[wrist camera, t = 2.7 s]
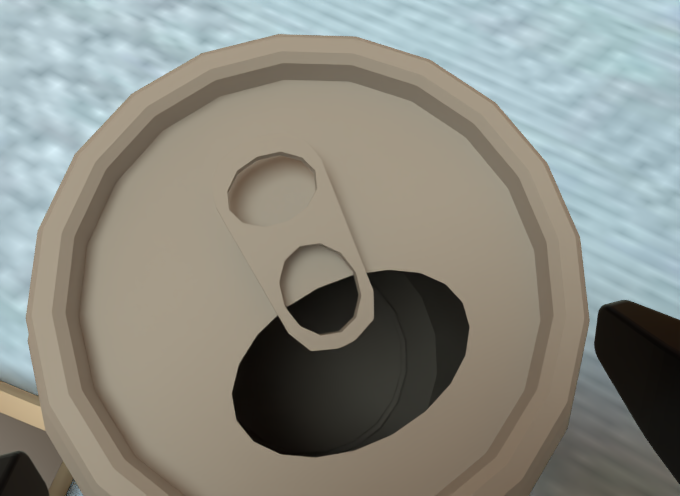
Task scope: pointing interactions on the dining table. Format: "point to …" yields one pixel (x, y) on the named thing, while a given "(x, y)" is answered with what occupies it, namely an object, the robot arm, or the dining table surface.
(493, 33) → the dining table surface
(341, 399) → the can
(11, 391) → the subfloor panel
